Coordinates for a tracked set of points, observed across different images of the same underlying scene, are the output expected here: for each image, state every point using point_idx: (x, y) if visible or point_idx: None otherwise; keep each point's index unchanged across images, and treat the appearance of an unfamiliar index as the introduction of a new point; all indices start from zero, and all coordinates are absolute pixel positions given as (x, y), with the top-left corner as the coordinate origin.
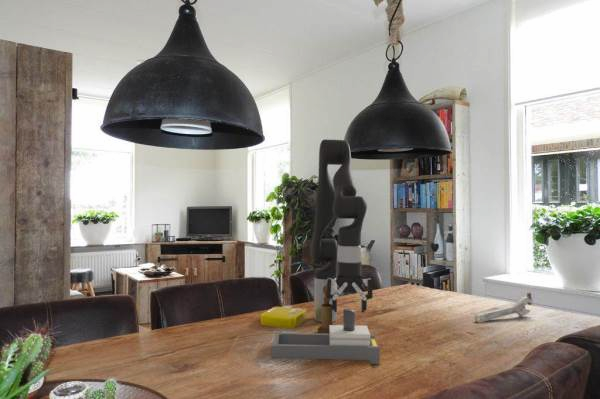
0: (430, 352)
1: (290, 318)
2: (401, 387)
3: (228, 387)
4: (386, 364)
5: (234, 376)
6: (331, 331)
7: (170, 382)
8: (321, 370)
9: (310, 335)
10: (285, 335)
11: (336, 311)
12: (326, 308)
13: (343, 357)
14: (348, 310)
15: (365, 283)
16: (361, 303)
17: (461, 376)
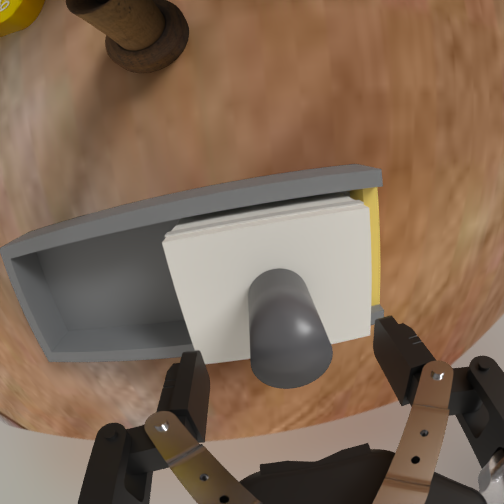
0: (496, 168)
1: (6, 18)
2: (382, 391)
3: (77, 427)
4: (382, 288)
5: (56, 397)
6: (197, 339)
7: (10, 407)
8: None
9: (97, 235)
10: (26, 253)
11: (208, 385)
12: (99, 16)
13: None
14: (287, 365)
15: (484, 489)
16: (396, 347)
17: (497, 307)
